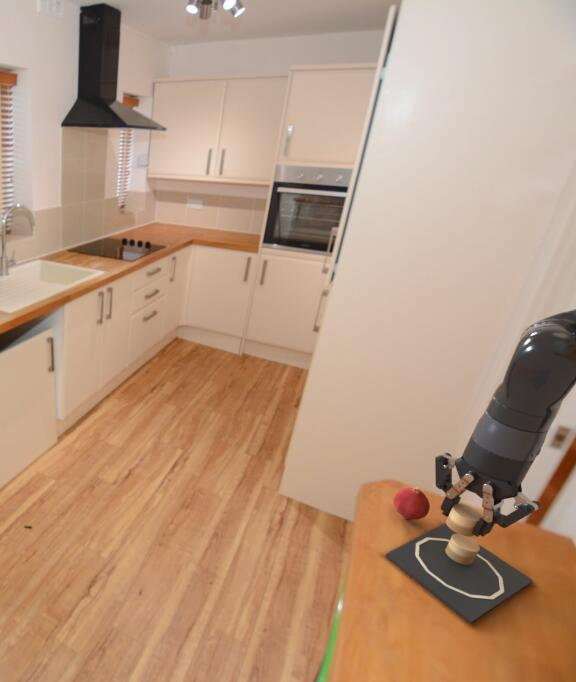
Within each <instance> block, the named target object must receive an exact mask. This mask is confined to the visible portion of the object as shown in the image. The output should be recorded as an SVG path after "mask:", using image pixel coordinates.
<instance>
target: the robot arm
mask: <svg viewBox="0 0 576 682" xmlns="http://www.w3.org/2000/svg"><path fill="white" fill-rule="evenodd" d="M575 386H576V308H574V309H570V310H566V311H562V312H558V313H555V314H552V315H550V316H546V317H544V318H542V319H539V320H537V321H534V322H533V323H531V324H530V325H528V326H527V327H526V328H525V329H524V330H523V331H522V333H521V335H520V338H519V340H518V342H517V344H516V347H515V349H514V351H513V354H512V357H511V359H510V361H509V364H508V366H507V369H506V371H505V374H504V377H503V379H502V381H501V382H500V383H499V384H498V385H497V387H496V389H495V391H494V393H493V394H492V397H491V399H490V400H489V402H488V404H487V407H486V409H485V411H484V412H483V413H482V415H481V416H480V417H479V419H478V421H477V423H476V425H475V427H474V429H473V430H472V434H471V435H470V438H469V439H468V442H467V444H466V446H465V448H464V451H463V452H462V454H461V456H460V457H458V458H457V457H455V456H452V455H451V453H449V452H444V453H442V454H440V455H437V456H435V459H434V462H435V464H434V467H435V468H434V472H435V473H434V474H435V487H436V488H437V489H439V490H442V492H444V494H445V496H444V499H443V501H442V503H441V505H440V510H441V511H442V513H441V515H443V516H444V517H446V518H447V517H448V515H449V513H450V511H451V509H452V507H453V505H454V504H457V503H460V502H461V499H462V497H461V495H463V494H464V493H466V491H468V492H470V493H474V494H475V495H476V496H478V497H479V498H480V499H482V501H481V507H482V508H483V510H482V516H483V517H481V518H480V519H479V521H478V523H477V525H476V527H475V528H474V530H473V532H472V534H473V535H474V537H477V538H478V537H480V536H481V537H484V536H486V535H488V534H490V533H491V531H492V529H493V528H494V526H495V524H496V525H498V526H499V527H500V528H502V529H506V528H508V527H510V526H511V525H513V524H515V523H518V522H519V521H521V520H522V519H524V518H525V517H527V516H530V515H531V514H532V513H534V512H536V511H538V510H539V509H541V508H542V505H541V503H540V502H539V501H537V500H531V499H530V498H529V497H527V496H526V495H525V494H524V493H523V489H522V488H523V487H522V483H523V481H524V480H525V478H526V476H527V474H528V472H529V471H530V470H531V467H532V466H533V464H534V461H535V460H536V458H537V457H538V456H539V455H540V452H541V451H542V447H543V445H544V443H545V442H546V438H547V435H548V432H549V429H550V428H551V427H552V424H553V423H554V421H555V419H556V417H557V415H558V414H559V412H560V409H561V407H562V404H563V401H564V400H565V398H566V397H567V396H568V395H569V394H570V392H571V391H572V390H573V388H575ZM453 468H455V469H456V472H457V475H458V477H459V480H458V481H457V482H455V483H454V484H453ZM512 498H514V500H515V502H514V503H513V506H514V509H515V510H513V511H512V512H510V513H509V514H507V515H506V514H504V513H502V508H503V506H504V502H505V500H507V499H512Z"/></svg>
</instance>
